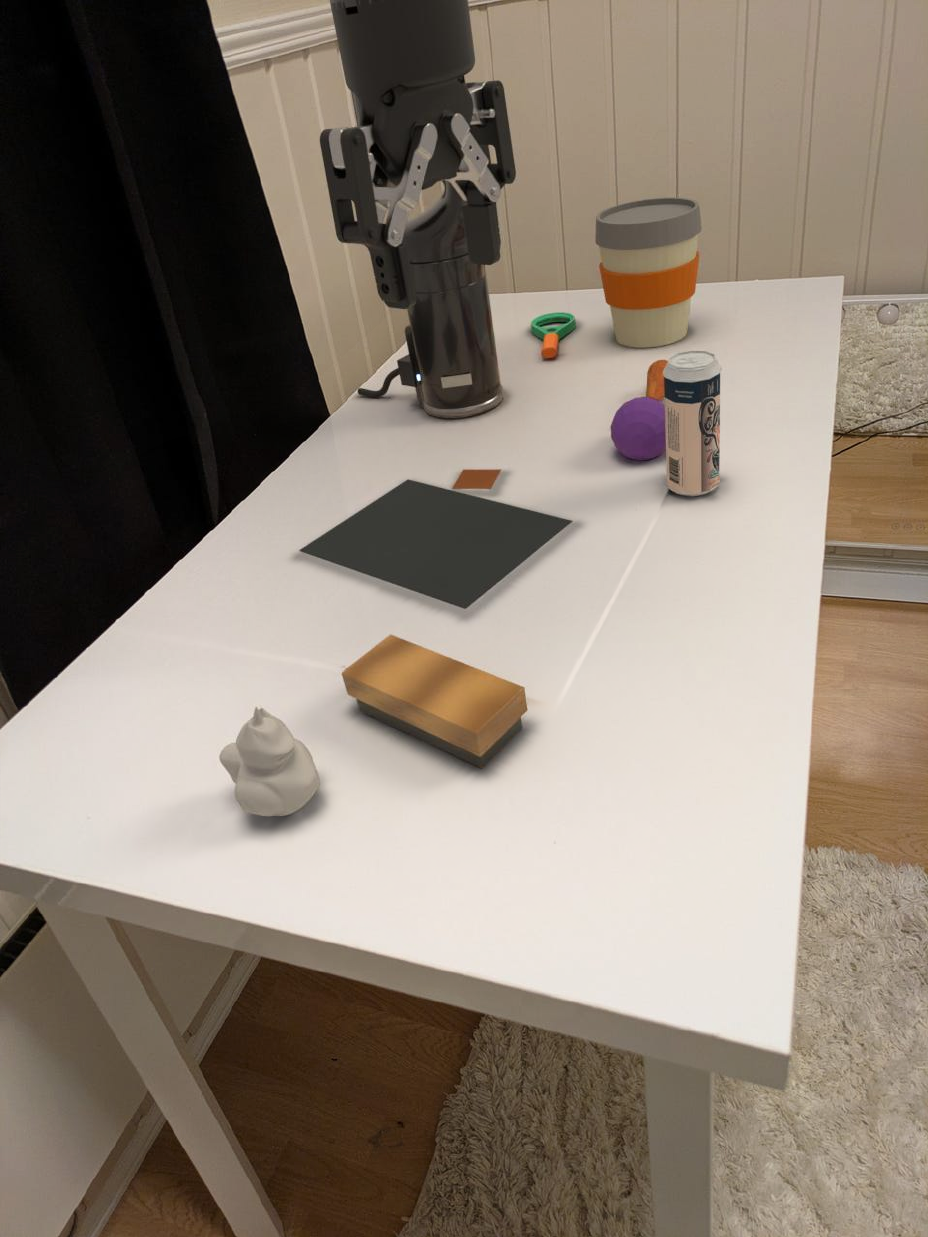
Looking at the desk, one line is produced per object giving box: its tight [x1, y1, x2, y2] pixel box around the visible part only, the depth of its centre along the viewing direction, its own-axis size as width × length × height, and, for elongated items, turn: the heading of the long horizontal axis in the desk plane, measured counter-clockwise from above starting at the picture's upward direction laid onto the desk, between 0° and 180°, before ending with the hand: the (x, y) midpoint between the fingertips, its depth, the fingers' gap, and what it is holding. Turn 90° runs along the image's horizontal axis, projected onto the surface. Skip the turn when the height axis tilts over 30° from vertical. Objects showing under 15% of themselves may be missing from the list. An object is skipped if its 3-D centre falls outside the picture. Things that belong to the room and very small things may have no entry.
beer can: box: [663, 350, 722, 497], centre depth 79 cm, size 5×5×12 cm
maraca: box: [610, 359, 668, 461], centre depth 93 cm, size 6×6×20 cm
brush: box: [341, 634, 529, 769], centre depth 61 cm, size 12×5×4 cm, turn 50°
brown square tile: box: [451, 468, 502, 490], centre depth 90 cm, size 4×4×1 cm
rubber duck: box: [218, 706, 321, 817], centre depth 56 cm, size 5×7×8 cm
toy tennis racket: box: [530, 311, 577, 359], centre depth 120 cm, size 15×6×2 cm, turn 173°
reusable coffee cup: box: [594, 196, 703, 349], centre depth 112 cm, size 13×13×15 cm
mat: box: [298, 479, 573, 610], centre depth 82 cm, size 20×15×1 cm
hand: (444, 283), depth 59 cm, fingers open, 8 cm apart
